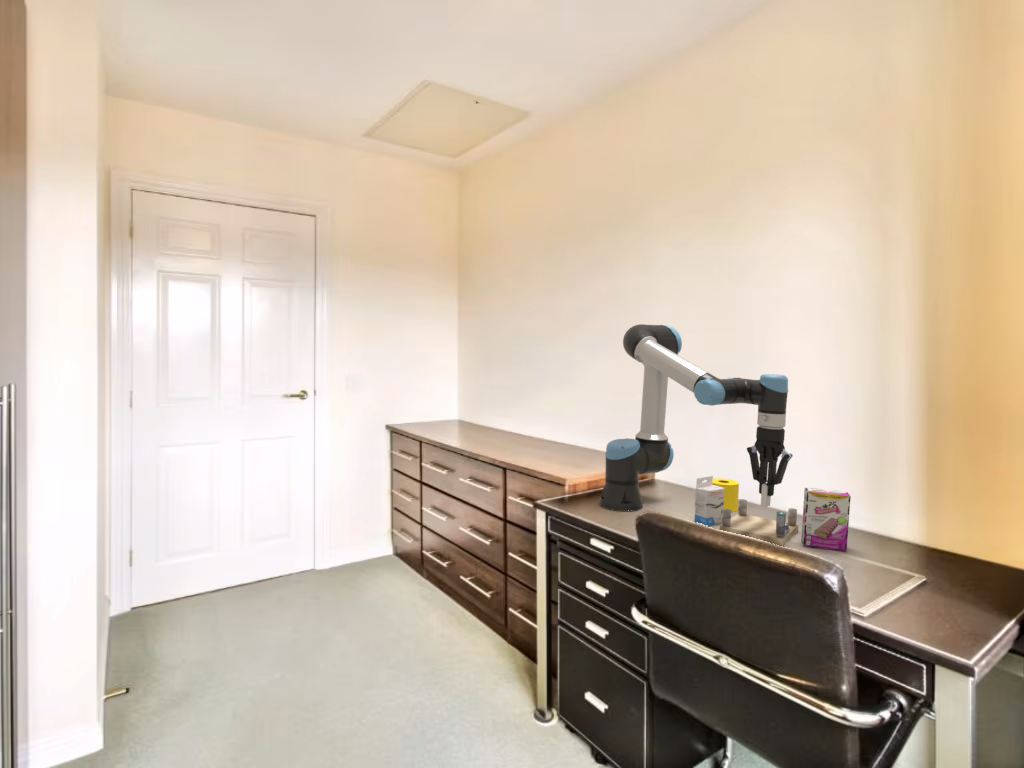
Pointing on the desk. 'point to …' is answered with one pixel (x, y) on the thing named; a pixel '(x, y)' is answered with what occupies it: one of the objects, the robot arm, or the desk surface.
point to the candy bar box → (825, 519)
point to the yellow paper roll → (728, 492)
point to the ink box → (708, 502)
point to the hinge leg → (781, 524)
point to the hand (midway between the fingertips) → (765, 505)
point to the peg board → (757, 525)
